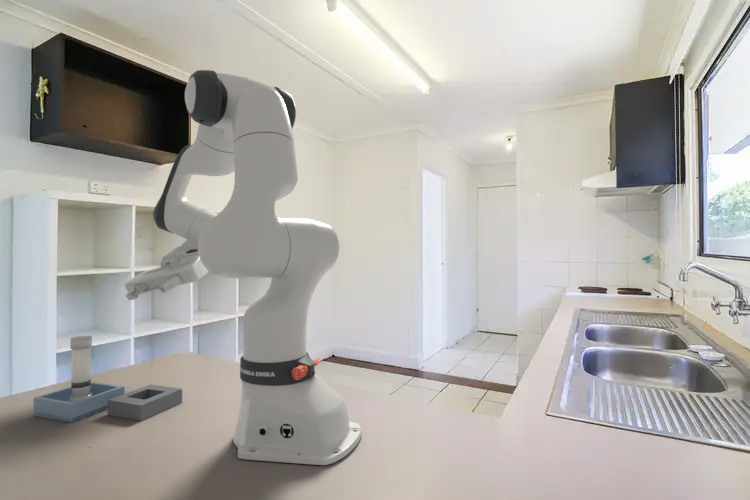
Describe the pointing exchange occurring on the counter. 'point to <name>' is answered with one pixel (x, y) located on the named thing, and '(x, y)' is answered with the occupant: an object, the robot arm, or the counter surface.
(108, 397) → the parts tray
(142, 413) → the block
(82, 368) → the fuse
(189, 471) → the counter surface
